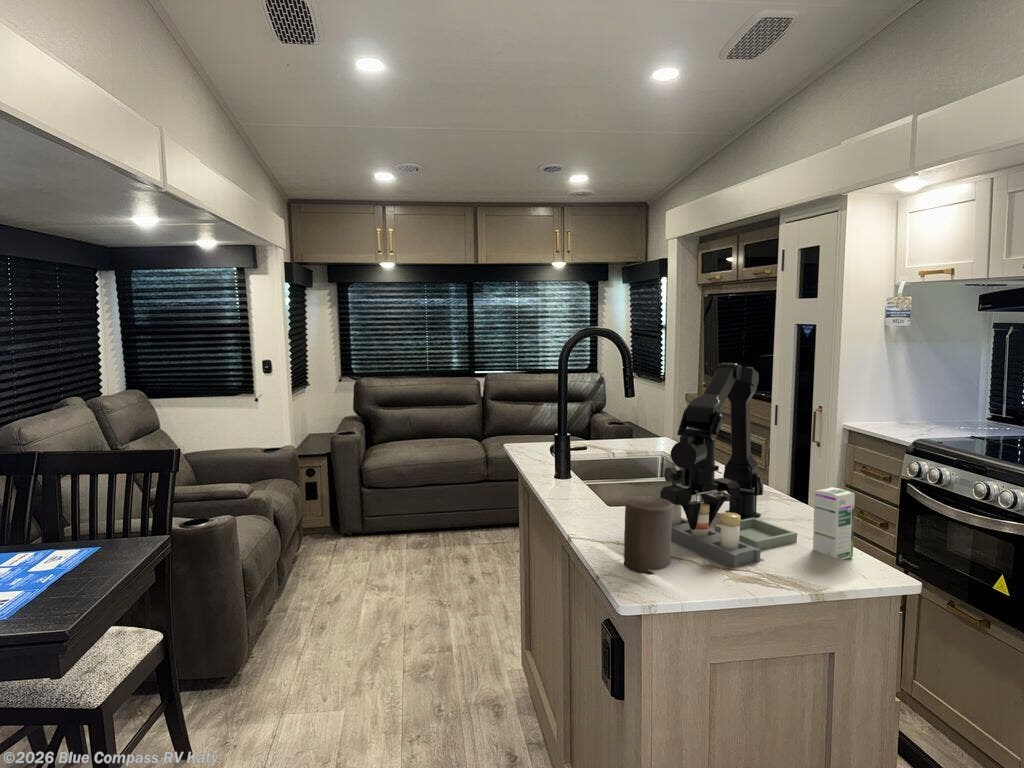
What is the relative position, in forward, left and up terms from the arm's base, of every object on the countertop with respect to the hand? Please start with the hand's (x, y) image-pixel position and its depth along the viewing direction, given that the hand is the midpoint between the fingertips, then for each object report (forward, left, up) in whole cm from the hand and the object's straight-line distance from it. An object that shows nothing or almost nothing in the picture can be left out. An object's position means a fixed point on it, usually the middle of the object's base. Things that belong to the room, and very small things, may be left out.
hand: (699, 527), depth 141 cm
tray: (-14, +3, -4) cm, 15 cm away
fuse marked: (0, 0, -4) cm, 4 cm away
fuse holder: (0, 0, -4) cm, 4 cm away
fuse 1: (0, -9, -4) cm, 10 cm away
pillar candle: (+17, +3, -5) cm, 18 cm away
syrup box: (-22, +17, -5) cm, 28 cm away
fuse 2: (0, +9, -4) cm, 10 cm away
